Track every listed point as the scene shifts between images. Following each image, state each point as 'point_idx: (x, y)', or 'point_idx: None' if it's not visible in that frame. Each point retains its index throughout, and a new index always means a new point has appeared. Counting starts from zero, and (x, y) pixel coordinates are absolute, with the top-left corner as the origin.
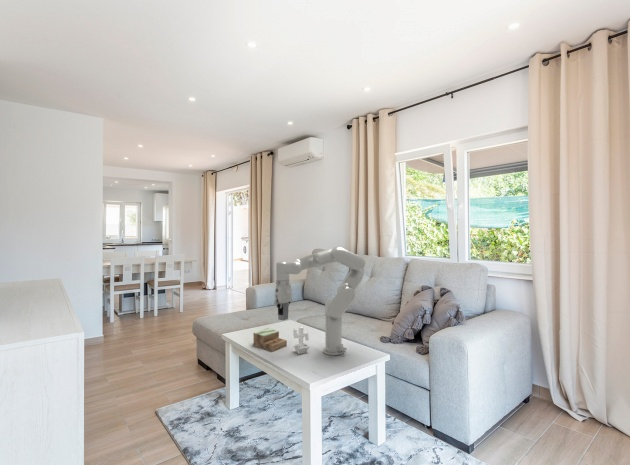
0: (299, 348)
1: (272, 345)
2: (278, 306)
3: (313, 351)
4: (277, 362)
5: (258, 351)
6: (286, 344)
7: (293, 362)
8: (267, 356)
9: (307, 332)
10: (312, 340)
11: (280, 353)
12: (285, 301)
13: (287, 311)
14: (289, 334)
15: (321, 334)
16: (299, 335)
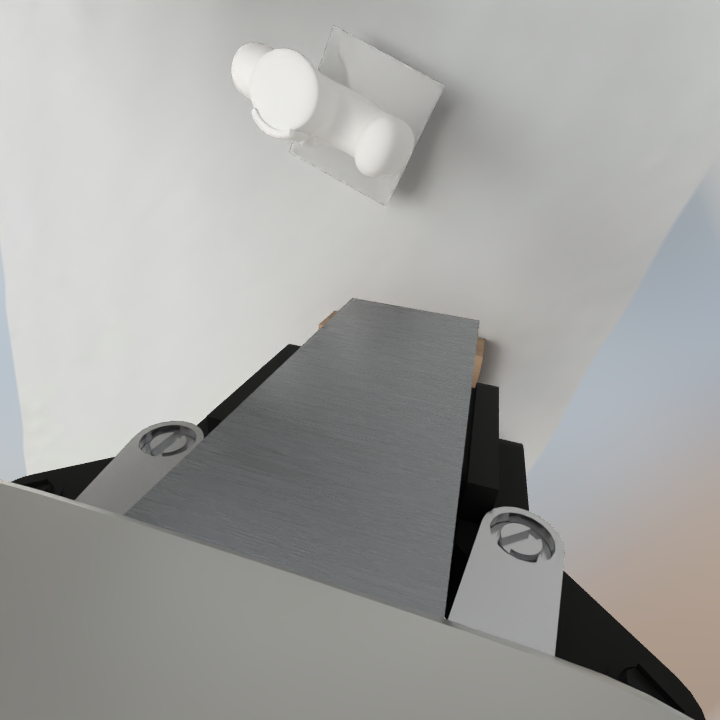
0: (424, 87)
1: (478, 360)
2: (633, 638)
3: (301, 35)
4: (693, 155)
5: (531, 428)
6: (333, 315)
7: (631, 10)
8: (594, 316)
9: (247, 47)
10: (138, 210)
11: (486, 263)
12: (314, 623)
13: (312, 356)
14: (167, 411)
15: (22, 225)
16: (361, 100)
